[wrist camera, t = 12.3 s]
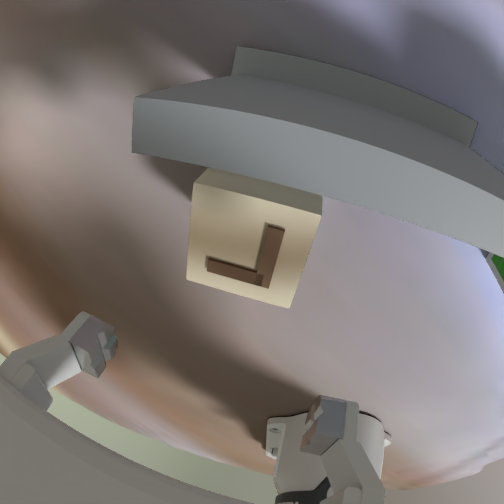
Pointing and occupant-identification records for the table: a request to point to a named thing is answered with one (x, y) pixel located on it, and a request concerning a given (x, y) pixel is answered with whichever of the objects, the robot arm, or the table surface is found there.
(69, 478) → the robot arm
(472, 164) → the screen
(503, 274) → the skincare box
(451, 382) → the table surface
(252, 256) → the letter cube
